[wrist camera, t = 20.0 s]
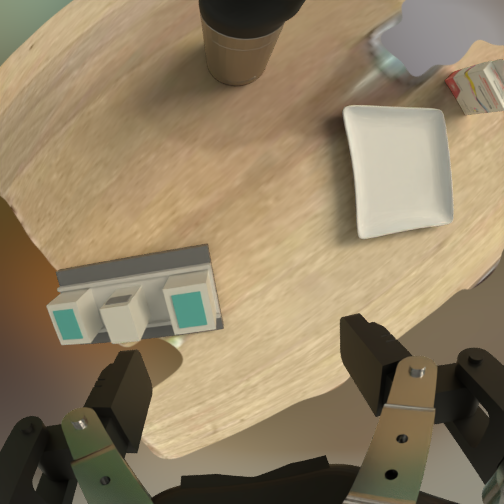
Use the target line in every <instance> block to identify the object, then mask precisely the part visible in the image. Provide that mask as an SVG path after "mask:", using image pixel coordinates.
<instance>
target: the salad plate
mask: <svg viewBox="0 0 504 504" xmlns="http://www.w3.org/2000/svg"><path fill="white" fill-rule="evenodd" d="M342 114H343V121H344V126H345V131H346V135H347V140H348V145H349V150H350V156H351V162H352V169H353V177H354V187H355V202H356V224H357V234H358V237H359V238H360V239H369V238H375V237H379V236H384V235H389V234H394V233H398V232H403V231H409V230H414V229H419V228H426V227H435V226H442V225H447V224H450V223H452V221H453V186H452V173H451V163H450V154H449V145H448V137H447V130H446V124H445V118H444V114H443V112H442V111H441V110H439V109H434V108H415V107H389V106H369V105H351V106H347V107H345V108H344V109H343V112H342Z"/></svg>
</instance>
